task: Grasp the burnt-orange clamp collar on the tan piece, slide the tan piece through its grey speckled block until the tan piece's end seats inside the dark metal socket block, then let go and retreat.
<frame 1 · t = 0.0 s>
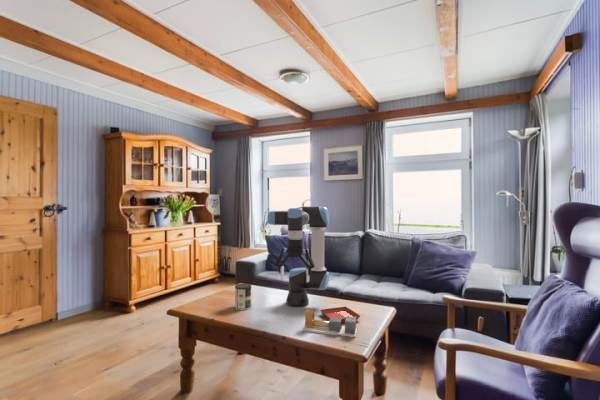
hand: (294, 280, 159), 28 cm above the table, fingers open, 13 cm apart
base board: (330, 330, 166), on the table
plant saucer: (339, 318, 184), on the table
socket: (350, 333, 163), resting on base board
grey speckled block: (335, 331, 165), resting on base board
tan piece: (322, 319, 167), point 5 cm above the table, slide at 0.0 cm
coffee can: (243, 307, 201), on the table
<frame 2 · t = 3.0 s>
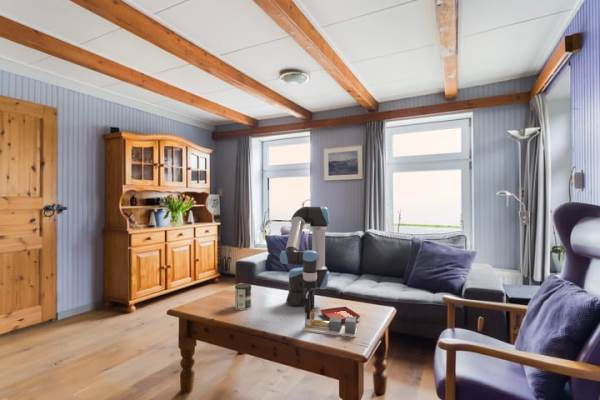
hand: (309, 323, 169), 3 cm above the table, fingers closed on tan piece, 4 cm apart
tan piece: (322, 319, 167), point 5 cm above the table, slide at 0.0 cm, touching gripper
everything else where it was.
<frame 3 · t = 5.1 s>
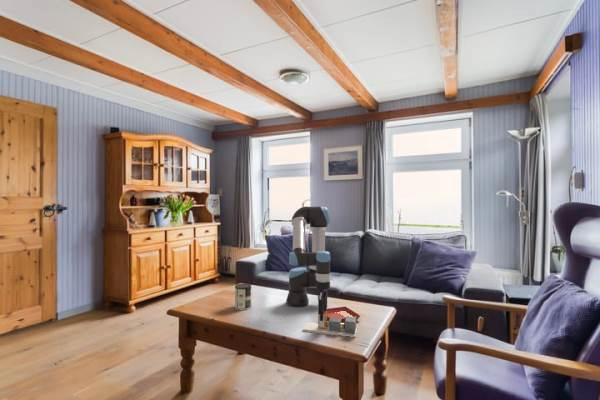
hand: (322, 324, 167), 3 cm above the table, fingers closed on tan piece, 4 cm apart
tan piece: (335, 320, 165), point 5 cm above the table, slide at 7.2 cm, touching gripper
everything else where it was.
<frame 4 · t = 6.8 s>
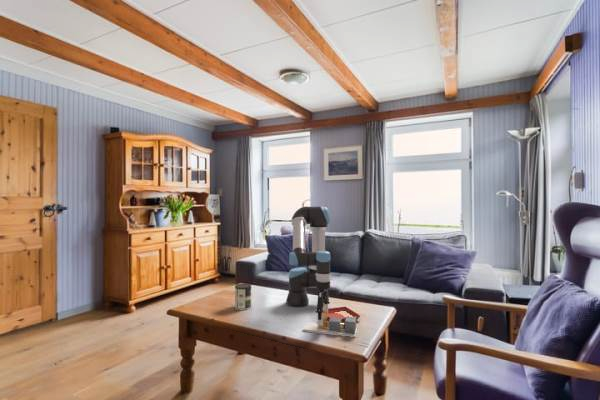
hand: (322, 320, 167), 5 cm above the table, fingers open, 13 cm apart
tan piece: (335, 320, 165), point 5 cm above the table, slide at 7.3 cm
everything else where it was.
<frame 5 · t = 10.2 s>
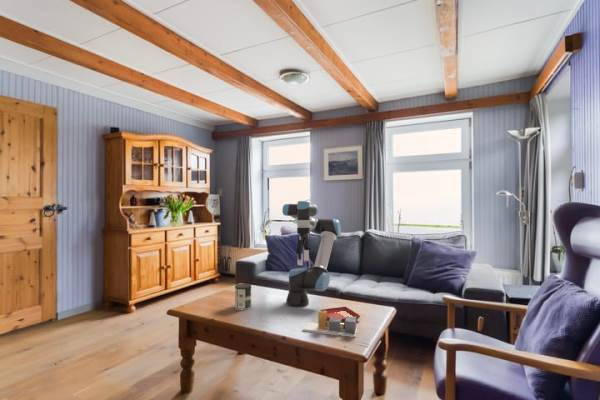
hand: (303, 262, 186), 32 cm above the table, fingers open, 13 cm apart
nothing on the table moved.
at the end: tan piece slide at 7.3 cm; the gripper is holding nothing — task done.
